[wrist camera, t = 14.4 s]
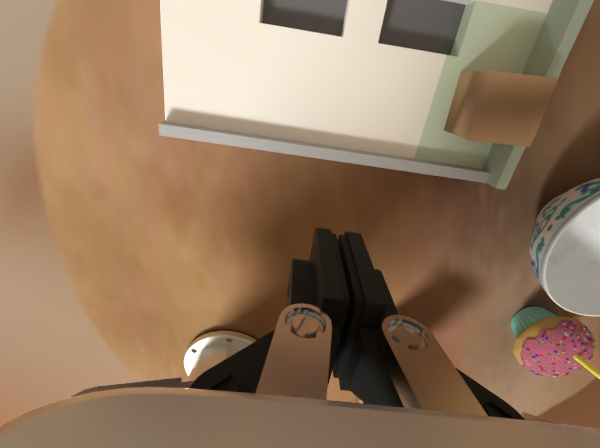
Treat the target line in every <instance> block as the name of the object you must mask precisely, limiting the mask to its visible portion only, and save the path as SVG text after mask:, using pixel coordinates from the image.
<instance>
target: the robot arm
mask: <svg viewBox="0 0 600 448" xmlns="http://www.w3.org/2000/svg"><path fill="white" fill-rule="evenodd" d="M184 368H185V371H186V373H187V374H188V376H189V377H188V380H187V382H182V380H181V378H171V379H162V380H153V381H143V382H134V383H125V384H115V385H106V386H97V387H93V388H89V389H85V390H83V391H81V392H79V393H77V394H75V395H73V396H71V397H70V398H66V399H62V400H59V401H56V402H53V403H49V404H46V405H43V406H41V407H38V408H36V409H33V410H31V411H28V412H25V413H23V414H21V415H19V416H18V417H16V418H14V419H12V420H10V421H8V422H6V423H4V424H3V425H1V426H0V448H600V429H595V428H588V427H580V426H572V425H564V424H560V423H557V422H554V421H550V420H547V419H544V418H541V417H537V416H534V415H531V414H528V413H525V412H523V413H522V414H521V415H520V414H519V413H518V412H517V411H516V410H515V409H514V408H513V407H511V406H510V405H509V404H508V403H506V402H505V401H503V400H502V399H501V398H499V397H498V396H496V395H495V394H493V393H492V392H490V391H489V390H487V389H486V388H484V387H483V386H481V385H480V384H479V383H477V382H476V381H474V380H473V379H471V378H470V377H468V376H467V375H465V374H464V373H462V372H461V371H460V370H458V369H457V368H455V367H454V365H453V364H452V362H451V361H450V359H449V358H448V356H447V355H446V353H445V352H444V350H443V349H442V347H441V346H440V344H439V343H438V341H437V340H436V339H435V337H434V336H433V334H432V333H431V332H430V331H429V329H428V328H427V327H426V326H424V325H423V324H422V323H421V322H419V321H417V320H415V319H413V318H411V317H408V316H404V315H399V314H398V312H397V309H396V307H395V304H394V302H393V299H392V297H391V294H390V292H389V290H388V287H387V285H386V282H385V280H384V277H383V275H382V272H381V271H380V270H377V269H374V267H373V265H372V262H371V259H370V257H369V254H368V251H367V249H366V246H365V243H364V240H363V238H362V235H361V234H360V233H352V232H345V234H344V235H339V238H338V241H337V236H336V234H332V232H331V230H330V229H322V228H316V229H315V234H314V239H313V244H312V249H311V255H310V260H309V261H306V260H298V259H292V263H291V269H290V275H289V282H288V290H287V301H286V308H285V309H284V310H283V311H282V312H281V314H280V316H279V319H278V322H277V325H276V329H275V330H274V331H272V332H270V333H269V334H267V335H265V336H264V337H262V338H260V339H259V340H255V339H254V338H252V337H250V336H248V335H246V334H242V333H239V332H234V331H214V332H210V333H206V334H204V335H202V336H200V337H198V338H196V339H195V340H194V341H193V342H192V343H191V344H190V345H189V347H188V349H187V351H186V353H185V357H184ZM332 369H333V376H334V378H339V383H340V390H347V391H352V392H353V393H354V394H355V395H356V396H357V398H356V403H351V402H341V401H330V400H326V398H327V387H328V383H329V380H330V376H331V373H332Z"/></svg>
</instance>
